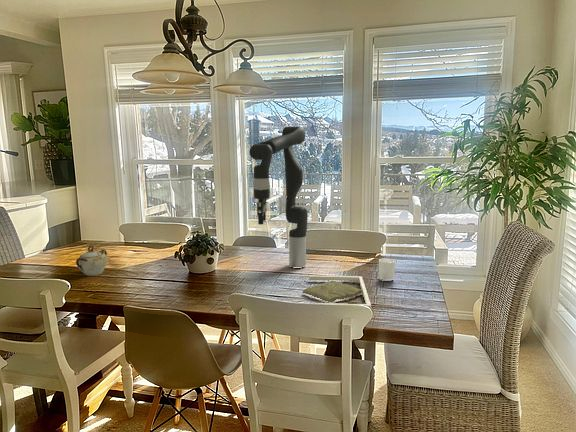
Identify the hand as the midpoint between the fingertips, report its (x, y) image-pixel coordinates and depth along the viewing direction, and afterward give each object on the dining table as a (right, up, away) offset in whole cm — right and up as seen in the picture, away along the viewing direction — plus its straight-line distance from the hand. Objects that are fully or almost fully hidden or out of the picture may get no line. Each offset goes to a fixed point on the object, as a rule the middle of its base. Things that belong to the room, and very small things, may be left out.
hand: (262, 222), depth 193 cm
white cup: (+61, -29, +10) cm, 68 cm away
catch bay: (+33, -32, -10) cm, 47 cm away
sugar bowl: (-90, -27, +23) cm, 97 cm away
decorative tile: (+32, -33, -10) cm, 47 cm away
